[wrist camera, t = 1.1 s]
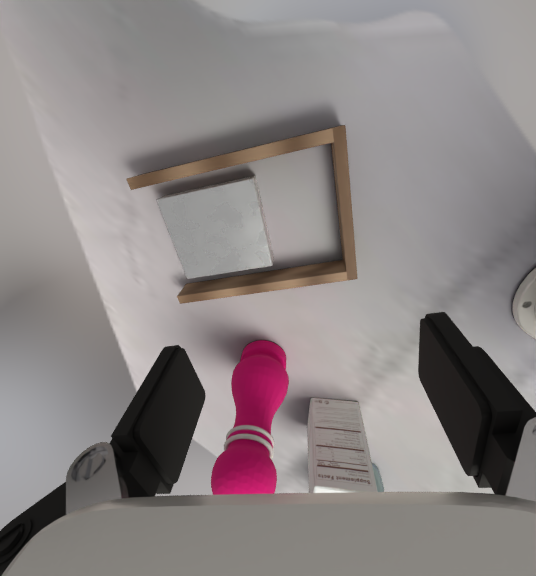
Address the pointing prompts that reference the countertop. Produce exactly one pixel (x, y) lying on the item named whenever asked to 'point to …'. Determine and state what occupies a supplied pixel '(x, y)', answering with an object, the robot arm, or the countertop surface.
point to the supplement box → (338, 448)
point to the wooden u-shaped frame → (281, 277)
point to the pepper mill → (252, 422)
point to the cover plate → (218, 228)
